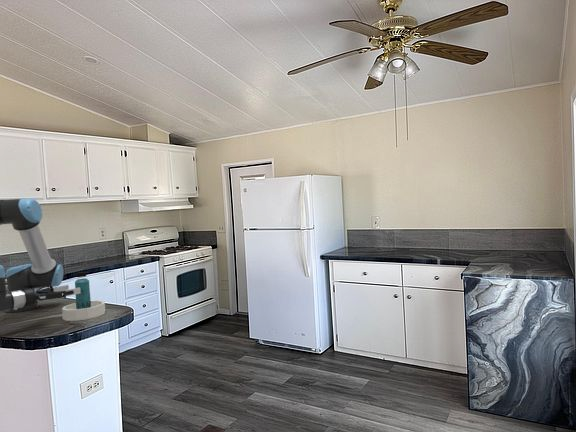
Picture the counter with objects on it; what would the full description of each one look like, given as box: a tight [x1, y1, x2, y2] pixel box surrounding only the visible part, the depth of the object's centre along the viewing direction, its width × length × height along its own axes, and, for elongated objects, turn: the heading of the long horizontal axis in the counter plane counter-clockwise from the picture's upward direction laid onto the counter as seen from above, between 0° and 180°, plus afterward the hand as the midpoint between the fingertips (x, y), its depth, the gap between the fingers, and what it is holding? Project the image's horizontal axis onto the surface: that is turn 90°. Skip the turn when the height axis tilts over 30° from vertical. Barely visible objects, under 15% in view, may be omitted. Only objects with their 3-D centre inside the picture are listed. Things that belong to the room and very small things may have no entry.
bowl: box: [61, 300, 106, 322], centre depth 199 cm, size 18×18×5 cm
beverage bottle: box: [74, 271, 92, 309], centre depth 198 cm, size 6×7×20 cm
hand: (74, 289), depth 195 cm, fingers open, 13 cm apart
